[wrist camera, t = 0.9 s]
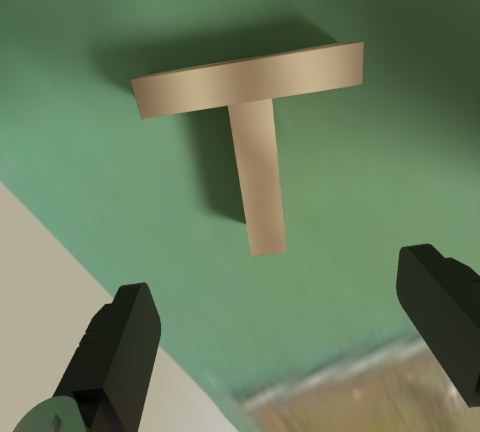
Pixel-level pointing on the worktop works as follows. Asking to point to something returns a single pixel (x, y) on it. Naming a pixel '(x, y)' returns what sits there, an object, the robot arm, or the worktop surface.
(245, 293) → the worktop surface
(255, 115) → the wooden pusher
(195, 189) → the worktop surface
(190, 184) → the worktop surface
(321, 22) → the worktop surface
